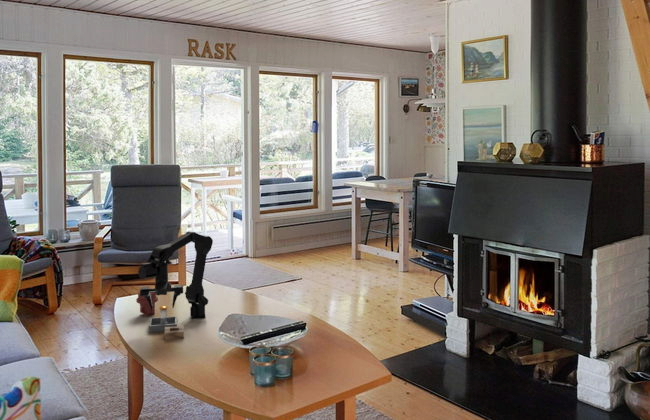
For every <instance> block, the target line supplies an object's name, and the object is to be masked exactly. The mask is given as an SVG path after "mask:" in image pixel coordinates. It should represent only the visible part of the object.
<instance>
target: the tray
mask: <svg viewBox="0 0 650 420" xmlns="http://www.w3.org/2000/svg"><path fill="white" fill-rule="evenodd" d="M174 326H178V316H177V315H175V316H174V315H173V316H167V324H165V325H161V320H160V317H149V323H148V332H149V333H151V334H152V333H162V332H164V333H165V327H174Z"/></svg>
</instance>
